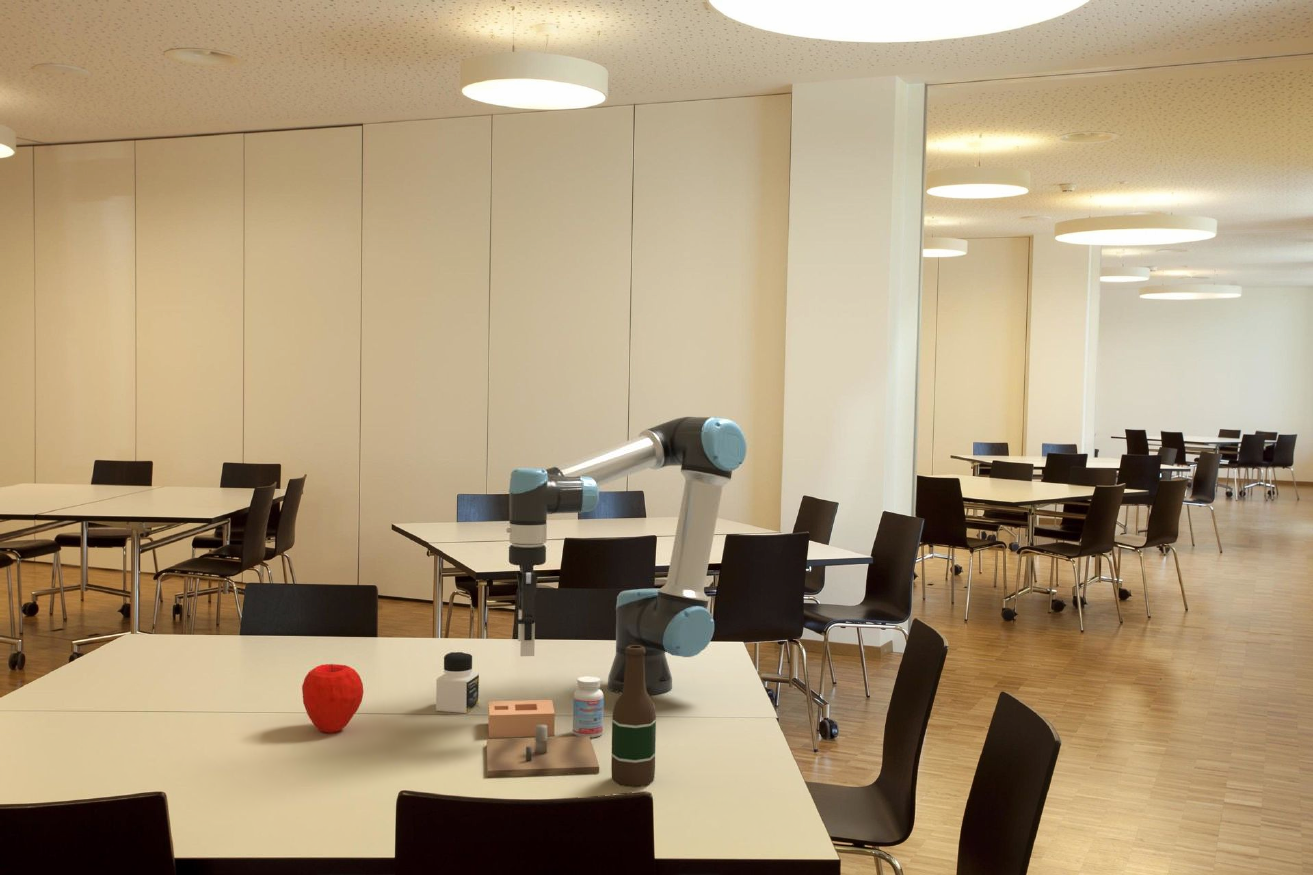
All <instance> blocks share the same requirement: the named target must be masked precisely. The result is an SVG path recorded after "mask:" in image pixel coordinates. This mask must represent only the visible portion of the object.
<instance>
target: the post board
mask: <svg viewBox="0 0 1313 875" xmlns="http://www.w3.org/2000/svg"><path fill="white" fill-rule="evenodd" d="M486 766H487V767H486V769H487V770H486V771H487V772H486V773H487V778H501V777H502V778H505V777H507V778H509V777H531V776H534V777H536V776H558V775H559V776H561V775H584V774H587V775H588V774H600V765H599V760H598V758H597V755H596V753H595V749H594V745H593V743H592V739H591V738H590V737H589V736H581V737H578V736H556V737H555V736H554V737H553V736H549V737H548V736H547V725H543V724H541V725H536V730H535V736H534V737H530V738H529V737H523V738H522V737H521V738H520V737H519V738H498V739H497V738H493V739H492V738H491V739H486Z"/></svg>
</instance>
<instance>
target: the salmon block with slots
mask: <svg viewBox="0 0 1313 875" xmlns="http://www.w3.org/2000/svg"><path fill="white" fill-rule="evenodd" d="M555 716H556V713H555V709H554V704H553V700H552V699H536V700H535V699H531V700H529V699H528V700H525V699H524V700H497V701H496V700H494V701H493V700H491V701H488V738H491V739H492V738H493V739H495V738H516V737H517V738H518V737H519V738H520V737H521V738H522V737H523V738H527V737H535V730H536V725H541V724H543V725H547V737H553V736H554V737H555V735H556V734H555V730H556V728H555V727H556V726H555V724H556V722H555V721H556V717H555Z"/></svg>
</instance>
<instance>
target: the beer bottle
mask: <svg viewBox="0 0 1313 875" xmlns="http://www.w3.org/2000/svg"><path fill="white" fill-rule="evenodd" d="M624 653H626V664H625V677H624V686H623V691H622V693H619V694H620V695H619V696H618V698H617V699H616V701H615V703H614V706H613V708H612V718H611V762H610V763H611V764H610V765H611V769H610V771H611V779H612V782H614V783H615V784H617V785H619V786H620V787H627V788H639V787H645V786H649V785H650V784H651V783H652V782H653V781H654V779H655V773H656V740H657V739H656V738H657V737H656V736H657V735H656V733H657V732H656V730H657V716H656V715H657V714H656V707H655V705H654V702H653V699H652V697H651V696H650V695H649V694H648V693H647V690H646V684H645V664H644V654H645V653H646V651H645V648H644V647H642V646H640V645H630V646H628V647H626V649H625V652H624Z"/></svg>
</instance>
